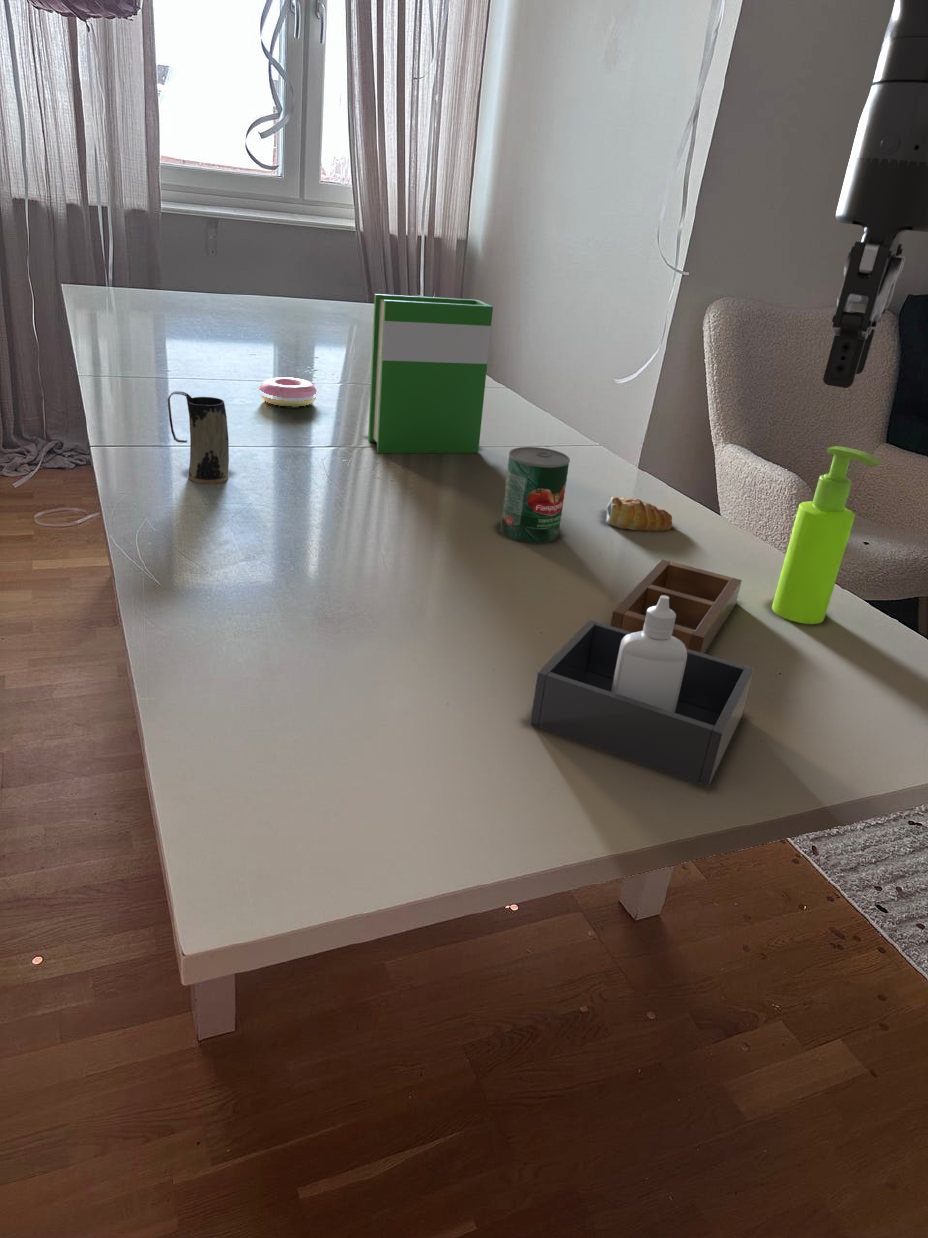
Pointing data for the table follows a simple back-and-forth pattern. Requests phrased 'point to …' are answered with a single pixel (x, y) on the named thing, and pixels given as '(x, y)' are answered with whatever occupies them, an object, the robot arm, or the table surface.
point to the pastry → (637, 515)
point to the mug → (206, 439)
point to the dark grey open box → (641, 706)
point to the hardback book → (428, 373)
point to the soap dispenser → (818, 543)
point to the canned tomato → (534, 494)
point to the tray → (681, 602)
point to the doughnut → (288, 391)
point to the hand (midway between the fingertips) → (843, 378)
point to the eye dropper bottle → (652, 660)
